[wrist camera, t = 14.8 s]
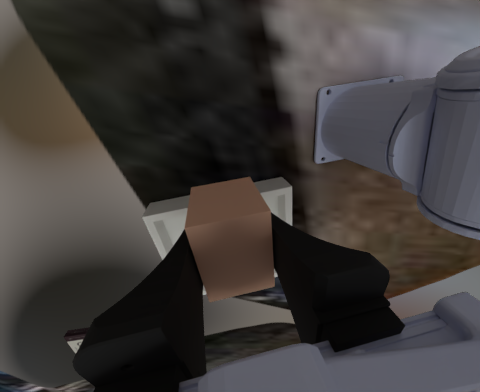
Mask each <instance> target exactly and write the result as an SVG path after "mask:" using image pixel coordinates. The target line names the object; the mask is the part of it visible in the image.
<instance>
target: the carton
mask: <svg viewBox="0 0 480 392" xmlns="http://www.w3.org/2000/svg"><path fill="white" fill-rule="evenodd" d="M185 231H186V234H187V237H188V240H189V243H190V246H191V249H192V252H193V255H194V258H195V261H196V264H197V267H198V270H199V273H200V276H201V279H202V282H203V285H204V288H205V291H206V294H207V296H208V300H209V302H213V301H217V300H221V299H226V298H230V297H234V296H238V295H242V294H246V293H250V292H254V291H258V290H262V289H266V288H270V287H274V286H275V280H274V261H273V243H272V224H271V210H270V208H269V207H268V205H267V204H266V202H265V200H264V199H263V197H262V196H261V194H260V192H259V191H258V189H257V188H256V186H255V184H254V183H253V181H252V180H251V178H250V177H246V178H240V179H235V180H229V181H224V182H219V183H213V184H208V185H202V186H197V187H191V192H190V198H189V204H188V210H187V216H186V222H185Z"/></svg>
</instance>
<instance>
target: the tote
mask: <svg viewBox="0 0 480 392" xmlns="http://www.w3.org/2000/svg"><path fill="white" fill-rule="evenodd" d="M254 184H255V186H256V188H257V189H258V191H259V192H260V194H261V196H262V197H263V199H264V200H265V202H266V204H267V205H268V207H269V208H270V210H271V212H272V213H273V214H275V215H276V216H277V217H279V218H280V219H282V220H283V221H285V222H286V223H288V224H290V225H291V226H292V186H291V185H290V184H289V183H288V182H287V181H286V180H285V179H283V178H282V177H279V178H274V179H269V180H264V181H259V182H254ZM189 198H190V195H188V196H183V197H178V198H173V199H168V200H163V201H158V202H153V203H150V204H149V206H148V207H147V209H146V211H145V213H144V215H143V216H142V218H143V220H144V222H145V224H146V226H147V229H148V231H149V233H150V235H151V237H152V239H153V241H154V243H155V246H156V248H157V250H158V252H159V254H160V256H161V258H162V260H163V259H164V258H165V257H166V255H167V254H168V253H169V251H170V250H171V249H172V247H173V246H174V244H175V243H176V241H177V240H178V238H179V237H180V235H181V234H182V232H183V230H184V229H185V222H186V216H187V210H188V204H189ZM274 277H278V275H277V273H276V271H275V269H274ZM205 294H206V291H205V288H204V285H203V295H205Z"/></svg>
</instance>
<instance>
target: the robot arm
mask: <svg viewBox="0 0 480 392" xmlns="http://www.w3.org/2000/svg"><path fill="white" fill-rule="evenodd" d="M389 81H390V83H389ZM327 90H329V94H328V95H327V93H326V92H327ZM322 157H323V160H321V159H322ZM341 159H347V160H350V161H352V162H355V163H357V164H360V165H363V166H365V167H368V168H370V169H373V170H375V171H378V172H381V173H383V174H386V175H388V176H391V177H394V178H396V179H399V180H400V181H401V183H402V189H403V190H405V191H407V192H410V193H412V194H414V195H417V206H418V209H419V210H420V212H421V213H422V214H423V215H424V216H425V217H426V218H427V219H429V220H430V221H431V222H433V223H435V224H436V225H438V226H440V227H442V228H444V229H447V230H449V231H451V232H454V233H457V234H460V235H463V236H466V237H470V238H474V239H478V240H480V46H479V47H476V48H474V49H471V50H469V51H467V52H464V53H462V54H460V55H459V56H457V57H456V58H455V59H454V60H453V61H452V62H450V63H449V64H448V65H447V66H446V67H444V68H443V69H441V70H440V71H439V72H438V73H437V76H436V77H433V78H425V79H417V80H408V81H404V77H403V76H402V75H400V76H393V77H387V78H380V79H374V80H368V81H361V82H355V83H348V84H342V85H335V86H329V87H323V88H321V89H319V91H318V98H317V115H316V132H315V150H314V162H315V163H317V164H320V163H326V162H331V161H336V160H341ZM271 224H272V243H273V261H274V269H275V271H276V273H277V275H278V278H279V280H280V283H281V285H282V288H283V291H284V293H285V296H286V299H287V302H288V305H289V307H290V310H291V313H292V316H293V319H294V322H295V325H296V328H297V331H298V334H299V337H300V340H301V344H294V345H289V346H286V347H282V348H278V349H275V350H271V351H268V352H264V353H261V354H257V355H254V356H250V357H247V358H243V359H239V360H236V361H232V362H229V363H225V364H222V365H220V366H218V367H215V368H213V369H210V370H209V371H208V372H206V358H205V341H204V321H203V282H202V279H201V276H200V273H199V270H198V267H197V264H196V261H195V258H194V255H193V252H192V249H191V246H190V243H189V240H188V237H187V234H186V231H185V229H184V230H183V232H182V234H181V235H180V237H179V238H178V240H177V241H176V243H175V244H174V246H173V247H172V249H171V250H170V251H169V253H168V254H167V255H166V257H165V258H164V259H163V260H162V262H161V263H160V264H159V265H158V266H157V267H156V268H155V269H154V270H153V271H152V272H151V273H150V274H149V275H148V276H147V277H146V278H145V279H144V280H143V281H142V282H141V283H140V284H139V285H138V286H136V287H135V288H134V289H133V290H132V291H131V292H129V293H128V294H127V295H126V296H125V297H123V298H122V299H121V300H120V301H118V302H117V303H116V304H114V305H113V306H112V307H110V308H109V309H108V310H106V311H105V312H104V313H102V314H101V315H100V316H98V317H97V318H95V319H94V321H93V322H92V324H91V326H90V328H89V330H88V331H87V333H86V335H85V337H84V339H83V341H82V343H81V345H80V347H79V349H78V351H77V353H76V355H75V357H74V360H73V367H74V369H75V370H76V371H77V373H78V374H79V375H81V376H82V377H83V378H85V379H86V380H87V381H88V382H90V383H91V384H92V385H94V386H95V390H94V392H480V301H479V300H477V299H476V298H475V297H473V296H472V295H470V294H469V293H468V292H462V293H458V294H455V295H451V296H447V297H444V298H442V299H440V300H439V301H438V302H437V303H436V304H435V306H434V308H433V310H432V311H429V312H426V313H422V314H419V315H415V316H412V317H408V318H405V319H401V320H400V319H399V318H398V317H397V316H396V315H395V313H394V312H393V311H392V310H391V309H390V308H389V306H390V302H389V301H388V300H387V299H386V298H385V297H384V296H383V295H384V292H385V290H386V287H387V285H388V282H389V278H390V275H389V271H388V270H387V268H386V267H385V266H384V265H382V264H381V263H380V262H379V261H378V260H377V259H376V258H375V257H373V256H372V255H371V254H370V253H368V252H363V251H359V250H354V249H350V248H346V247H342V246H339V245H335V244H332V243H329V242H326V241H324V240H321V239H318V238H316V237H313V236H311V235H309V234H307V233H304V232H302V231H300V230H298V229H297V228H295V227H293V226H291V225H290V224H288V223H286V222H285V221H283V220H282V219H280V218H279V217H277V216H276V215H275V214H273V213H272V212H271Z"/></svg>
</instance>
